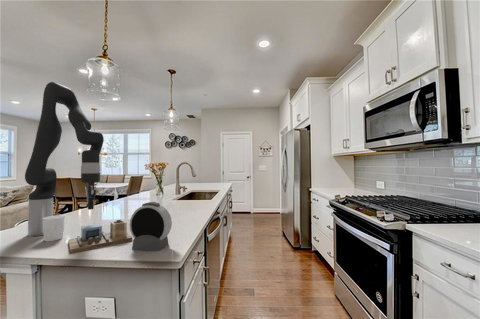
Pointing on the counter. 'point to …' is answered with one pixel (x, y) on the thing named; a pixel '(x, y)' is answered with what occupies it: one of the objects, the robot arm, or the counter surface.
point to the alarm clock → (150, 227)
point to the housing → (91, 231)
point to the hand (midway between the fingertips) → (90, 209)
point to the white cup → (53, 227)
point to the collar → (118, 229)
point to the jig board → (95, 245)
